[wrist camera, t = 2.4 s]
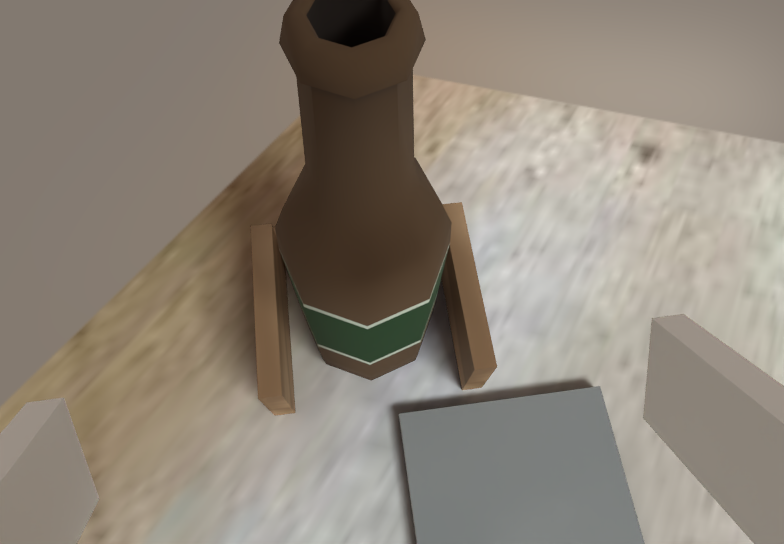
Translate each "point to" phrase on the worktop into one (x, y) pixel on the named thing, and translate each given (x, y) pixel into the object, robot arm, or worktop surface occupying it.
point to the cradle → (274, 315)
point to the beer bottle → (360, 186)
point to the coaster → (518, 472)
